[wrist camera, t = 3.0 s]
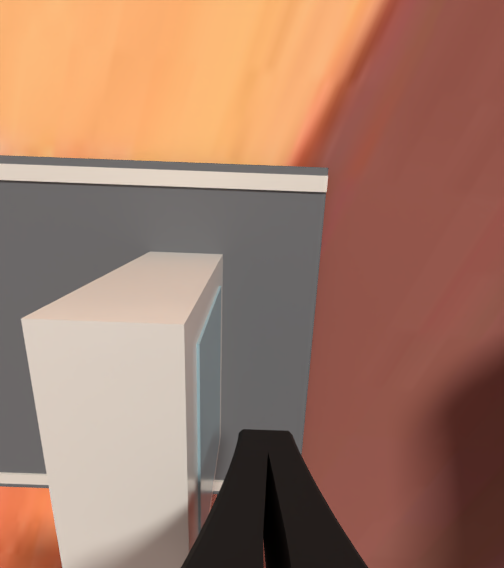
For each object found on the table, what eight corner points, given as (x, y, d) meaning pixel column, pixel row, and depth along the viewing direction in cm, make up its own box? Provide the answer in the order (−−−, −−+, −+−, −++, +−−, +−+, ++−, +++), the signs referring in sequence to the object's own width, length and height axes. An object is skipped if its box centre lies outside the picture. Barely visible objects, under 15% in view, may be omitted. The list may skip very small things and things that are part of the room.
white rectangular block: (224, 254, 13) (187, 324, 6) (222, 437, 15) (193, 648, 8) (150, 251, 13) (20, 318, 6) (159, 434, 15) (74, 644, 8)
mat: (325, 169, 13) (329, 167, 12) (296, 488, 17) (297, 498, 16) (-178, 150, 13) (-199, 147, 12) (-81, 474, 17) (-94, 484, 16)
